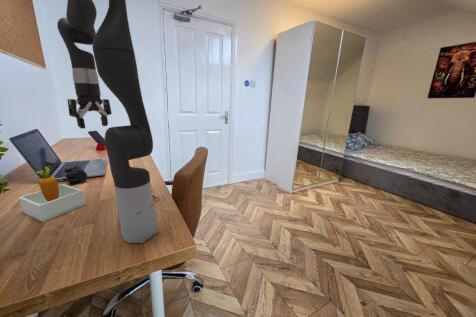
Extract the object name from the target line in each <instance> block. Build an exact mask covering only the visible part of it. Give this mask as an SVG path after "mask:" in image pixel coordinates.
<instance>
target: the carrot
mask: <svg viewBox="0 0 476 317" xmlns="http://www.w3.org/2000/svg"><path fill="white" fill-rule="evenodd" d="M44 169H45V171H44V170H40V171H39V170H38V171H36V173H35V174H37V175H40V176H42V178H40V179H38V185H39V187H40V191H42V194H43V195H44V197H45V199H46V200H47V201H48V202H49V201H52V200H55V199H58V198H59V187H58V185H59V183H58V178H57V177H55V176H52V175H51V176H50V173H51V169H50V168H49V166H44Z"/></svg>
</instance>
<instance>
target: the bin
mask: <svg viewBox="0 0 476 317" xmlns="http://www.w3.org/2000/svg"><path fill="white" fill-rule="evenodd" d="M58 187H59V198H58V199H55V200H52V201H49V202H48V201H47V200H46V199H45V197H44V195H43V194H42V191H41V190H39V191H35V192H32V193H28V194H24V195H22V196H19V197H18V201H19V203H20V207H21V211H22V213H23V214H25V215H27V216H29V217H32V218H33V219H36V220H38V221H40V222H42V223H45V222H47V221H50V220H53V219H55V218H57V217H59V216H62V215H64V214H67V213H69V212H72V211H74V210H77V209H78V208H81V207H83V206H86V199H85V194H84V190H82V189H80V188H76V187H74V186H70V185H67V184H64V183H62V184H58Z"/></svg>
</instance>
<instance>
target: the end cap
mask: <svg viewBox="0 0 476 317" xmlns="http://www.w3.org/2000/svg"><path fill="white" fill-rule="evenodd" d="M64 173H66V174H65V178H66V181H67V183H68V186H71V187H73V186H77V185H81V184H83V183H84V182H85V181H86V180H87V179H88V173H87V172H86V171H85V170H84V169H83V168H82V167H81V166H80V165H74V167H70V168H64Z"/></svg>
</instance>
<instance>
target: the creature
mask: <svg viewBox="0 0 476 317" xmlns="http://www.w3.org/2000/svg"><path fill="white" fill-rule="evenodd" d="M152 191H153V190H151V193H152ZM152 199H154V200H156V199H158V200H160V198H159V197H158V196H155V195H154V194H152ZM153 205H155V204H153Z"/></svg>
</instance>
